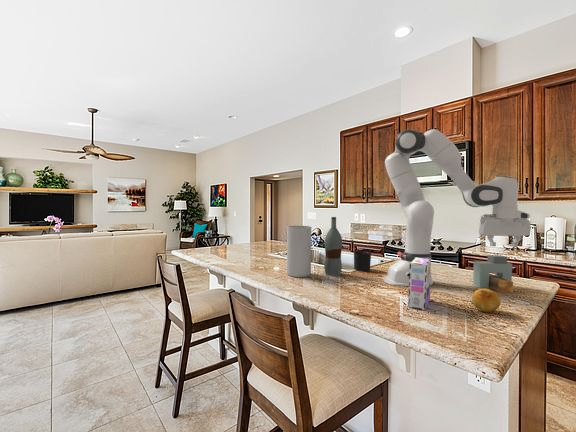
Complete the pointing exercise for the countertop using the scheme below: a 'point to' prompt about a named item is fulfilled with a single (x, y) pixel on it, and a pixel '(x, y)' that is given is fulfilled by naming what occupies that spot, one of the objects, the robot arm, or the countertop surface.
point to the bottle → (333, 250)
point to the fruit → (486, 300)
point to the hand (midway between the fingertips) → (503, 246)
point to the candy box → (419, 283)
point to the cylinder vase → (299, 251)
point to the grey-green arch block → (491, 270)
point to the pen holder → (362, 260)
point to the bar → (500, 284)
